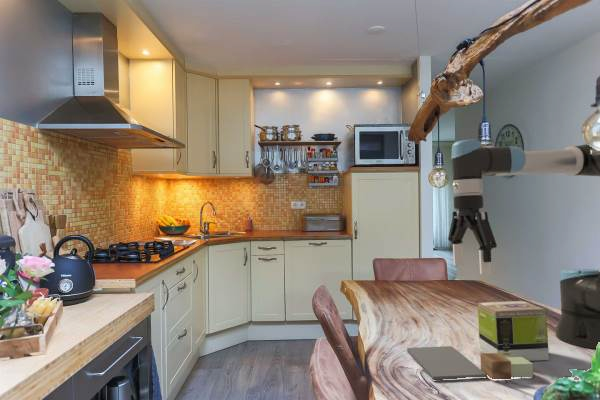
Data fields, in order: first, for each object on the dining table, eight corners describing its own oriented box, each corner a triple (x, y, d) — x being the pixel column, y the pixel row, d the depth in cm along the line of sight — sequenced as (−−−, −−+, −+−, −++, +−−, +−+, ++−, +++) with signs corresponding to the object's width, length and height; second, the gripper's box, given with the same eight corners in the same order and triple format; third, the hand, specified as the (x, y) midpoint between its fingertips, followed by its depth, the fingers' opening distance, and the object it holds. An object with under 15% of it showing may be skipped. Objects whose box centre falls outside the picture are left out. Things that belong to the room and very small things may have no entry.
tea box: (525, 347, 108) (524, 299, 109) (549, 361, 98) (548, 309, 98) (478, 348, 108) (477, 300, 108) (497, 363, 98) (496, 310, 98)
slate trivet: (451, 350, 107) (451, 346, 107) (486, 378, 89) (486, 374, 89) (407, 351, 106) (407, 348, 106) (433, 381, 88) (433, 376, 88)
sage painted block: (522, 371, 93) (521, 356, 93) (533, 379, 89) (532, 363, 89) (500, 372, 93) (500, 357, 93) (510, 380, 89) (509, 364, 89)
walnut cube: (499, 371, 93) (498, 352, 93) (511, 381, 88) (510, 361, 88) (481, 372, 93) (480, 353, 93) (492, 381, 88) (491, 361, 88)
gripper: (435, 196, 111) (438, 263, 111) (481, 193, 86) (485, 279, 86) (457, 195, 112) (460, 262, 111) (509, 192, 87) (514, 277, 86)
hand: (471, 269), depth 99 cm, fingers open, 13 cm apart
